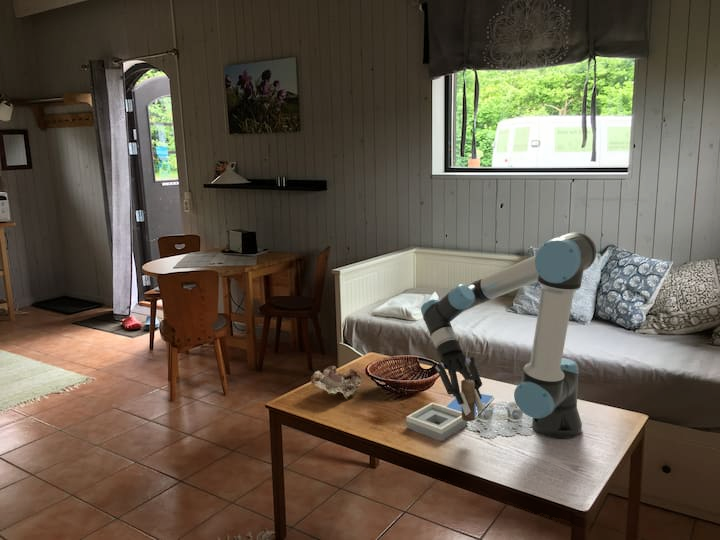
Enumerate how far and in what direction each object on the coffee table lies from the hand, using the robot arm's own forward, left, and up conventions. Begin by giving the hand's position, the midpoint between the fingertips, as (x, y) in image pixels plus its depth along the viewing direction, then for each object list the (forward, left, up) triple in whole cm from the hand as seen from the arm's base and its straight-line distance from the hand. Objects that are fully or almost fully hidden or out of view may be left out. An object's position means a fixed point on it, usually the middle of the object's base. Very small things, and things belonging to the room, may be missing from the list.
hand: (474, 411), depth 184 cm
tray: (+16, -2, -11) cm, 19 cm away
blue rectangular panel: (+17, -23, -12) cm, 30 cm away
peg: (+3, -2, -4) cm, 5 cm away
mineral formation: (+60, 0, -11) cm, 61 cm away
